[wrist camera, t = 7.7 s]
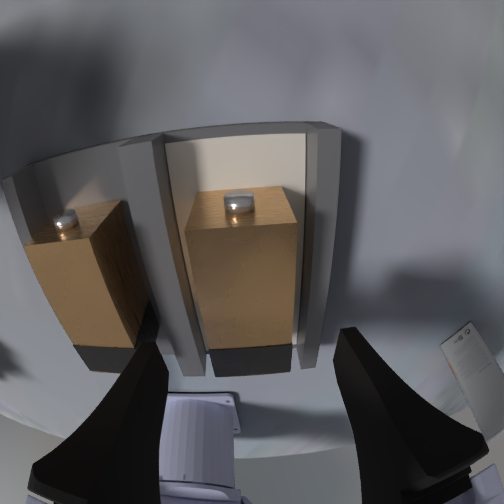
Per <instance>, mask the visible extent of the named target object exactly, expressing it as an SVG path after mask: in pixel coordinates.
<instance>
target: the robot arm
mask: <svg viewBox="0 0 504 504" xmlns="http://www.w3.org/2000/svg"><path fill="white" fill-rule="evenodd" d="M333 363H334V369H335V374H336V378H337V383H338V386H339V389H340V392H341V395H342V398H343V401H344V404H345V407H346V411H347V414H348V417H349V420H350V423H351V426H352V430H353V434H354V439H355V444H356V450H357V456H358V463H359V470H360V479H361V492H362V504H504V489H503V486H502V482H501V480H500V477H499V474H498V471H497V468H496V465H495V464H492V465H490V466H489V467H487V468H485V469H484V470H482V471H481V472H479V473H477V474H476V475H474V476H472V477H470V478H469V475H468V474H469V473H471V468H470V465H472V464H473V463H475V462H476V461H477V460H479V459H481V458H482V457H484V456H485V455H486V454H488V452H489V449H488V446H487V443H486V441H485V439H484V436H483V435H482V433H479V432H477V431H475V430H473V429H471V428H469V427H466V426H464V425H462V424H460V423H459V422H457V421H455V420H453V419H452V418H450V417H449V416H447V415H446V414H444V413H443V412H441V411H440V410H438V409H437V408H435V407H434V406H432V405H431V404H430V403H428V402H427V401H426V400H425V399H423V398H422V397H421V396H420V395H418V394H417V393H416V392H415V391H414V390H413V389H412V388H410V387H409V386H408V385H407V384H406V383H405V382H404V381H403V380H402V379H401V378H400V377H399V376H398V375H397V374H396V373H395V372H394V371H393V370H392V369H391V368H390V367H389V366H388V364H387V363H386V362H385V361H384V360H383V359H382V358H381V357H380V356H379V355H378V353H377V352H376V351H375V350H374V349H373V348H372V346H371V345H370V344H369V343H368V342H367V340H366V339H365V338H364V337H363V336H362V334H361V333H360V332H359V331H358V330H357V328H356V327H350V328H343V329H340V333H339V337H338V342H337V346H336V350H335V354H334V358H333ZM168 380H169V371H168V369H167V367H166V364H165V362H164V360H163V358H162V355H161V353H160V351H159V348H158V346H157V344H156V342H141V343H140V345H139V346H138V348H137V349H136V351H135V352H134V354H133V356H132V357H131V359H130V360H129V362H128V363H127V365H126V367H125V368H124V370H123V371H122V373H121V374H120V376H119V377H118V379H117V380H116V382H115V383H114V385H113V386H112V387H111V389H110V390H109V392H108V393H107V394H106V396H105V397H104V398H103V400H102V401H101V402H100V404H99V405H98V406H97V407H96V409H95V410H94V411H93V412H92V413H91V415H90V416H89V417H88V418H87V419H86V420H85V421H84V422H83V423H82V424H81V425H80V426H79V427H78V428H77V430H76V431H74V432H73V433H72V434H71V435H70V436H69V437H68V438H67V439H66V440H65V441H63V442H62V443H61V444H60V445H59V446H57V448H55V449H54V450H52V451H51V452H50V453H48V454H47V455H46V456H44V457H43V458H41V459H40V460H38V461H37V462H35V463H33V465H32V469H31V474H30V478H29V482H28V490H30V491H31V492H33V493H35V494H37V495H40V496H42V497H44V498H46V499H49V500H51V501H53V502H54V504H253V503H252V502H251V501H250V500H249V499H248V498H247V497H246V496H241V490H240V489H235V469H234V436H233V434H239V433H241V428H240V423H239V419H238V415H237V410H236V406H235V401H234V397H233V395H232V394H230V393H217V394H174V393H168ZM26 504H47V503H45V502H43V501H41V500H39V499H37V498H34V497H32V496H30V495H28V496H27V499H26Z"/></svg>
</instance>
